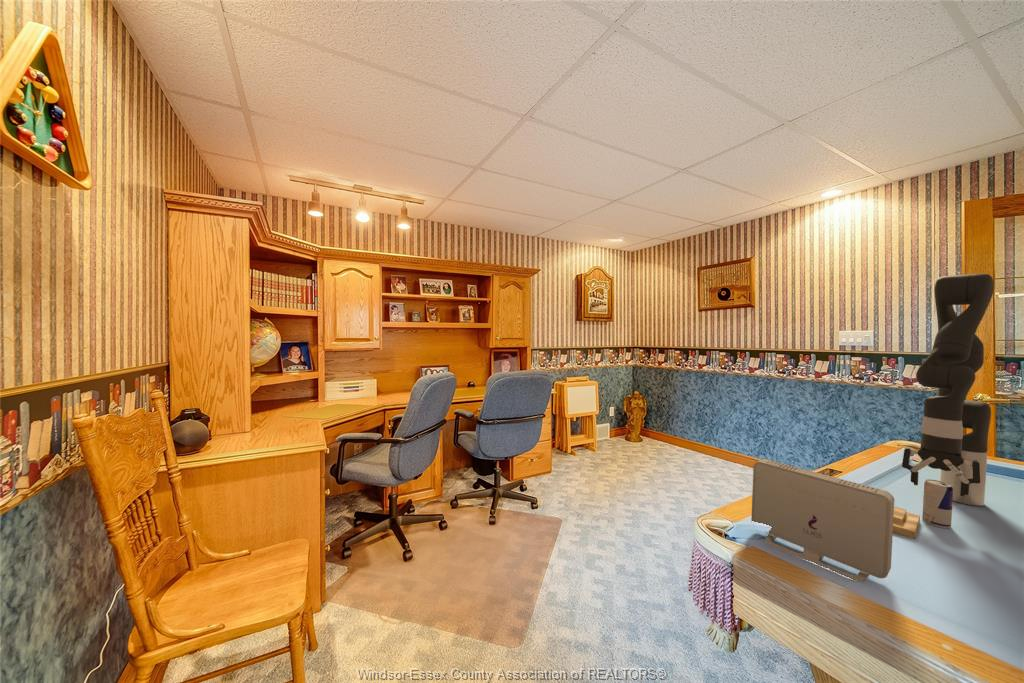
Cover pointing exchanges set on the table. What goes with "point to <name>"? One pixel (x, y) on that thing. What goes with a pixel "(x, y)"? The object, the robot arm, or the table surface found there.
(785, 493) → the network device
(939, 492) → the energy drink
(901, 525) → the plinth
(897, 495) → the table surface
